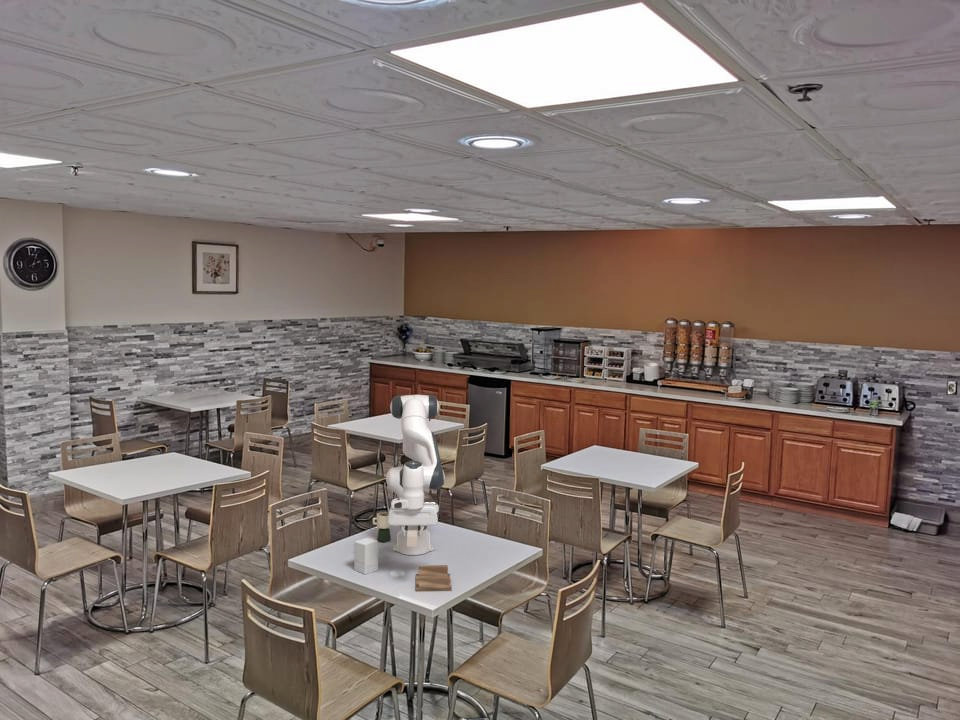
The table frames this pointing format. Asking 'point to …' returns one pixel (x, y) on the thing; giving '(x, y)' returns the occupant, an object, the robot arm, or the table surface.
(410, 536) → the beige rectangular bar
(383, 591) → the table surface
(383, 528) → the character mug
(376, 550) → the supplement box
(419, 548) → the robot arm
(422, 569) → the ridged wooden base
